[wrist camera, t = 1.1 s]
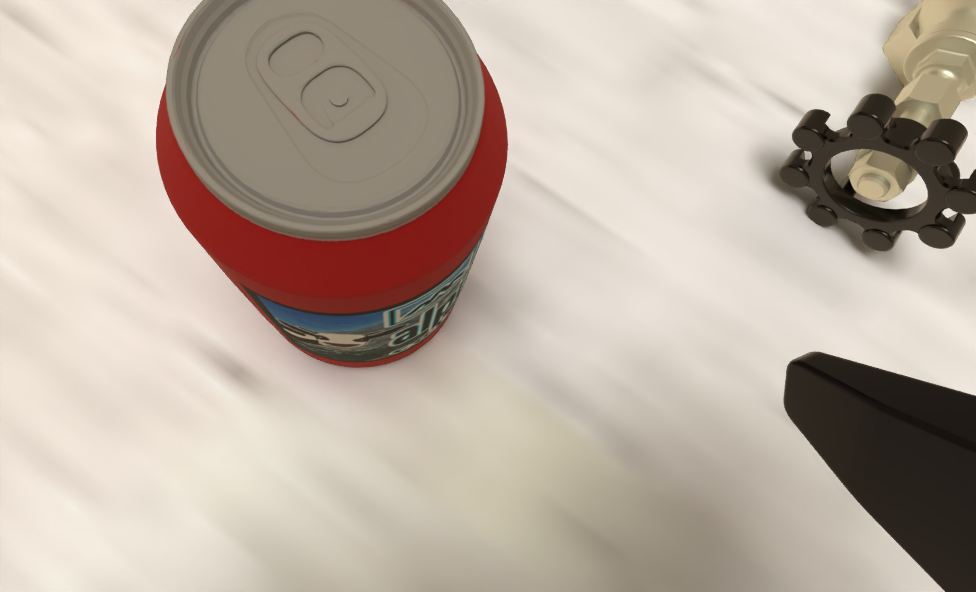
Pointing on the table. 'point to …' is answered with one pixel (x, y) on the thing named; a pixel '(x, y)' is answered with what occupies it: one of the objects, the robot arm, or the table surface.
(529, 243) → the table surface
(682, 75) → the table surface
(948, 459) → the robot arm
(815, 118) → the valve
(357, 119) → the beverage can
